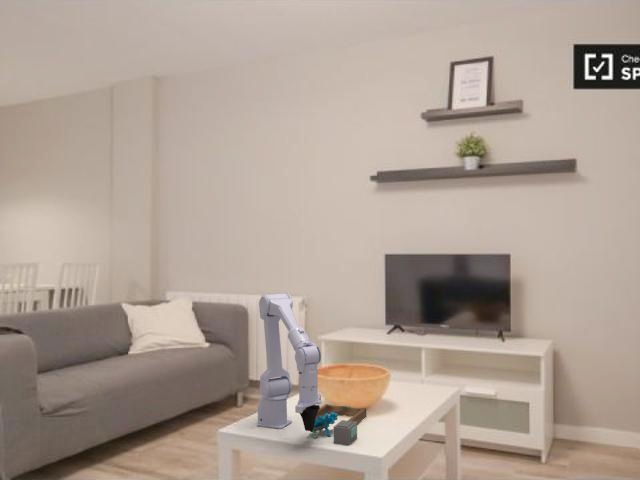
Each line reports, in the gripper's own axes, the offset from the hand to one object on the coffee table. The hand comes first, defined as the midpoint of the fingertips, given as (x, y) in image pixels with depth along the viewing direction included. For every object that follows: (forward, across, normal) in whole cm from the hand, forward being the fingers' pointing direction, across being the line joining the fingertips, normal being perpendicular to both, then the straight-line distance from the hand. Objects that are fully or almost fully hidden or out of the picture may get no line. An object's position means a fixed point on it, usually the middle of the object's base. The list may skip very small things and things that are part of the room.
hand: (309, 430), depth 174 cm
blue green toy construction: (+4, +9, 0) cm, 10 cm away
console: (+4, +6, -10) cm, 12 cm away
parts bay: (+4, +22, 0) cm, 23 cm away
